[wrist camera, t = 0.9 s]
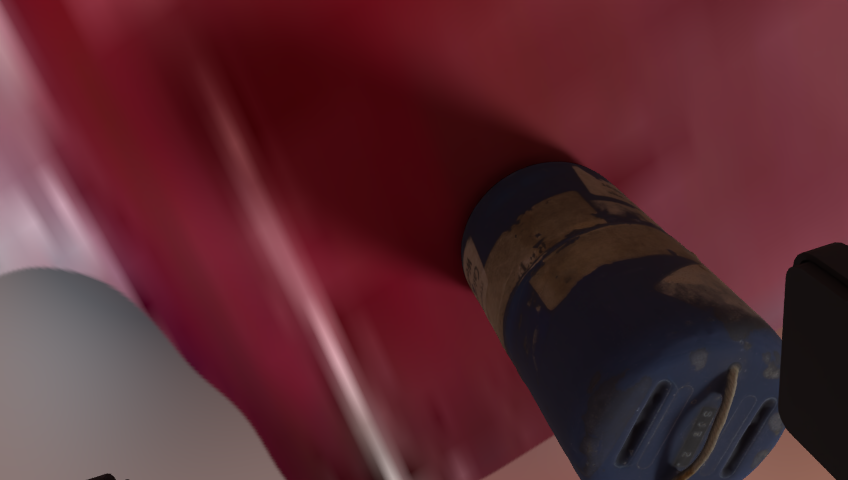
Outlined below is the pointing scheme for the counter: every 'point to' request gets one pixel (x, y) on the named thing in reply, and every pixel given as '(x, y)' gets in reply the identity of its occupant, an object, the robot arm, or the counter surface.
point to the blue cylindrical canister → (621, 331)
